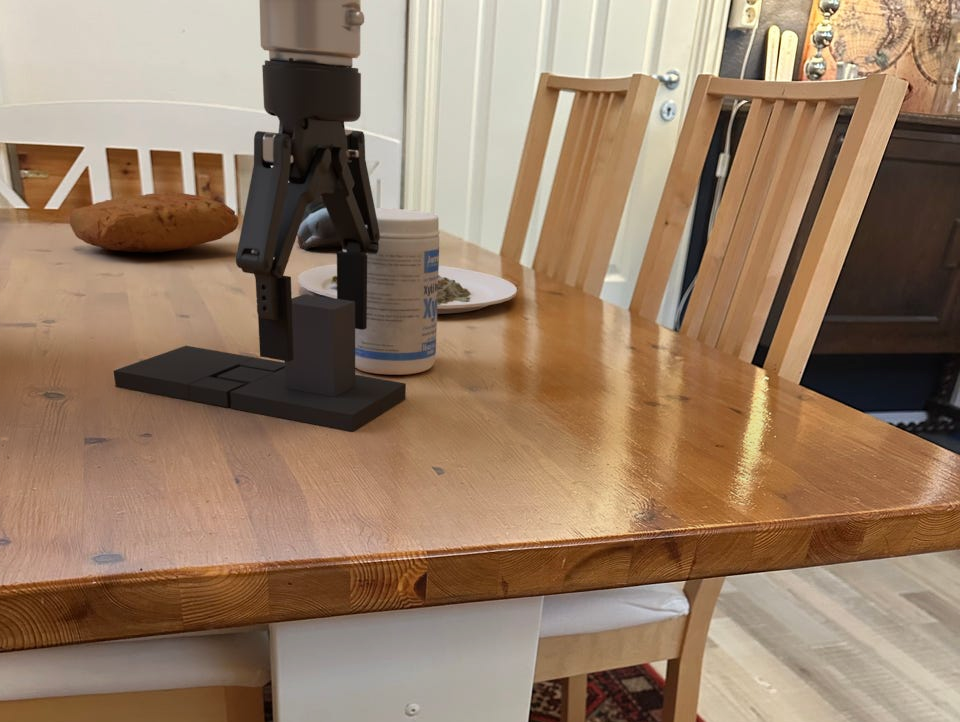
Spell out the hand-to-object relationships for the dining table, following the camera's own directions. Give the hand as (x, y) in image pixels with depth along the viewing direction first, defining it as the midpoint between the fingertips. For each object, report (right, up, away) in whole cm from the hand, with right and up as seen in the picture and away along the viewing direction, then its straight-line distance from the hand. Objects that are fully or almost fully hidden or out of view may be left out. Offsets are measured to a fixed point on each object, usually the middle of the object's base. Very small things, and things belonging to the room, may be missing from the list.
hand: (316, 342), depth 82 cm
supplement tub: (+5, +2, +16) cm, 17 cm away
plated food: (+5, +21, +47) cm, 51 cm away
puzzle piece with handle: (-2, -4, +3) cm, 6 cm away
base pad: (-12, -2, +6) cm, 13 cm away
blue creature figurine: (-11, +41, +77) cm, 88 cm away
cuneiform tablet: (-36, +34, +63) cm, 80 cm away
